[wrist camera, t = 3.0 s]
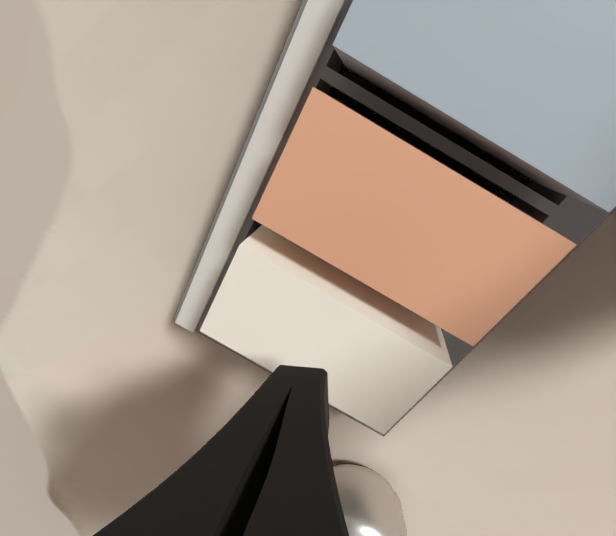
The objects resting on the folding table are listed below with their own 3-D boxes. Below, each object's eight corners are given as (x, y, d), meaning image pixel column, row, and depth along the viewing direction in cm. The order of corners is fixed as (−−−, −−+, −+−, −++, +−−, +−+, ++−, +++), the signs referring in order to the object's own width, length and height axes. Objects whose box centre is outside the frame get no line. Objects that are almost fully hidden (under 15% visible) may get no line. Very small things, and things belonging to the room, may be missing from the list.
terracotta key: (521, 210, 12) (576, 244, 9) (450, 291, 14) (473, 346, 11) (331, 96, 12) (313, 86, 8) (283, 194, 14) (251, 218, 10)
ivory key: (434, 308, 14) (452, 367, 11) (383, 368, 16) (384, 434, 13) (273, 214, 14) (239, 244, 11) (238, 285, 16) (199, 331, 12)
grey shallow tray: (732, 14, 11) (861, -26, 8) (383, 392, 19) (384, 439, 17) (412, -190, 10) (426, -310, 7) (202, 290, 19) (171, 320, 16)
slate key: (644, 69, 10) (782, 40, 7) (542, 186, 12) (609, 212, 8) (416, -75, 10) (436, -181, 6) (346, 68, 11) (332, 44, 8)
